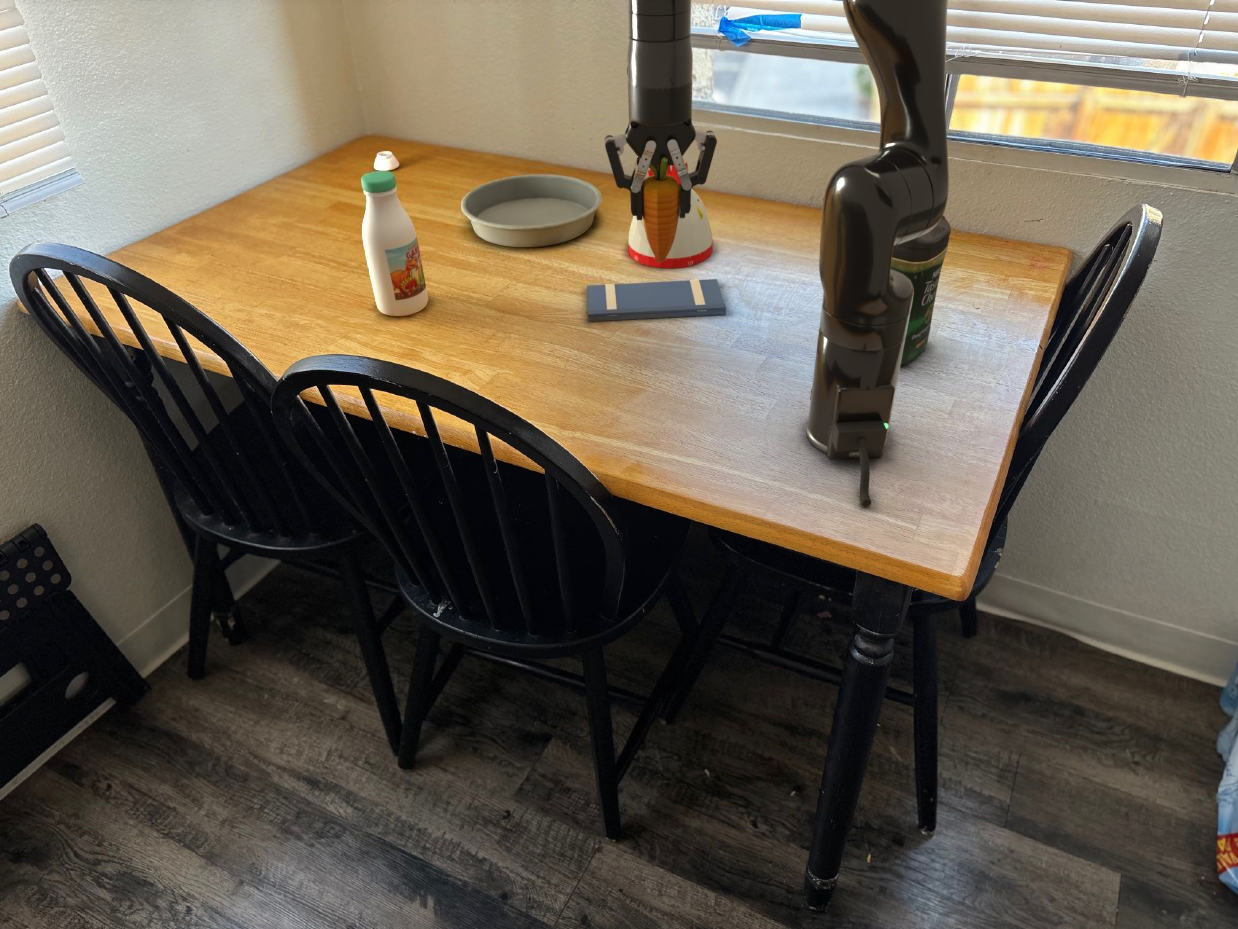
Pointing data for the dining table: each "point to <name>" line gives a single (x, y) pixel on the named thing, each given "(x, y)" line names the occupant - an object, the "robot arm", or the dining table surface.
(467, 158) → the dining table surface
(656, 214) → the carrot
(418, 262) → the milk bottle
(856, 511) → the dining table surface
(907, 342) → the coffee jar
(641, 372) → the dining table surface
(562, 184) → the cake pan
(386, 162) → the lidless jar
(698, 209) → the kitchen timer
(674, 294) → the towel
